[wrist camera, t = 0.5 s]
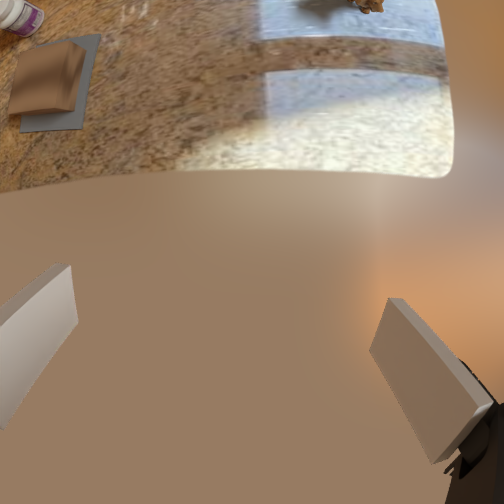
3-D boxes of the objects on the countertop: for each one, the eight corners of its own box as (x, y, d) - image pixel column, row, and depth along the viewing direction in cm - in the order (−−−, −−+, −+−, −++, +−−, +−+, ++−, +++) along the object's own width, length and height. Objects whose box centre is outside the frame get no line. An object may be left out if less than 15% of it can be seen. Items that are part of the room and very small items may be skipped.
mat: (37, 46, 26) (36, 46, 26) (101, 34, 28) (100, 33, 27) (21, 132, 31) (19, 132, 30) (82, 129, 32) (80, 128, 32)
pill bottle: (18, 27, 24) (-16, 14, 15) (40, 4, 24) (8, -14, 14) (25, 43, 26) (-11, 30, 17) (49, 20, 25) (15, 1, 16)
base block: (39, 58, 27) (20, 52, 22) (86, 50, 28) (69, 40, 23) (28, 115, 30) (7, 114, 25) (74, 111, 31) (54, 107, 26)
